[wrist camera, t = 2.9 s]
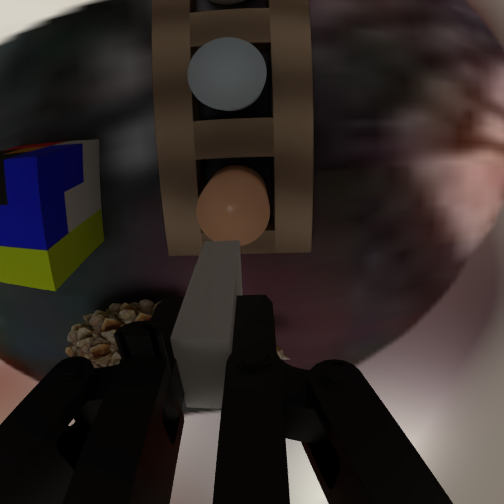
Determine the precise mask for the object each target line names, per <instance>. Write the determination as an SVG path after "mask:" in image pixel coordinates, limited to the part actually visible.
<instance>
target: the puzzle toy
mask: <svg viewBox="0 0 504 504" xmlns="http://www.w3.org/2000/svg"><path fill="white" fill-rule="evenodd" d="M103 241H104V232H103V221H102V208H101V191H100V166H99V139H93V140H77V141H63V142H51V143H41V144H31V145H23V146H18V147H14V148H10V149H7V150H3V151H0V282H4V283H9V284H15V285H21V286H26V287H32V288H39V289H45V290H51V291H56V290H57V289H58V288H59V287H60V286H61V285H62V284H63V283H64V281H65V280H66V279H67V278H68V277H69V276H70V275H71V274H72V273H73V272H74V271H75V270H76V269H77V268H78V267H79V266H80V265H81V264H82V262H83V261H84V260H85V259H86V258H87V257H88V256H89V255H90V254H91V253H92V252H93V251H94V250H95V249H96V248H97V247H98V246H99V245H100V244H101V243H102V242H103Z"/></svg>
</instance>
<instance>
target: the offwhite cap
mask: <svg viewBox="0 0 504 504" xmlns="http://www.w3.org/2000/svg"><path fill="white" fill-rule="evenodd" d="M210 1H212V2H214V3H217V4H223V5H231V4H237V3H240V2H243V1H245V0H210Z"/></svg>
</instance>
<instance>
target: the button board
mask: <svg viewBox="0 0 504 504" xmlns="http://www.w3.org/2000/svg"><path fill="white" fill-rule="evenodd" d="M224 37H233V38H239V39H242V40H245V41H247V42H249V43H250V44H252V45H253V46H254V47H255V48H256V49H258V50H269V62H270V93H271V117H260V118H232V119H214V120H200V121H199V104H198V99H197V98H196V97H195V95H194V94H193V92H192V91H191V89H190V86H189V83H188V67H189V64H190V61H191V59H192V57H193V56H194V54H195V53H196V52H197V50H198V49H199V48H201V47H202V46H203V45H204V44H206V43H208V42H210V41H212V40H214V39H218V38H224ZM152 75H153V99H154V117H155V132H156V145H157V157H158V168H159V179H160V188H161V198H162V206H163V215H164V223H165V231H166V238H167V245H168V252H169V256H192V255H200V252H201V250H202V247H203V244H204V242H205V241H213V240H211V239H210V238H209V237H208V236H206V235H205V233H204V232H203V231H202V229H201V228H200V226H199V223H198V220H197V215H196V207H197V202H198V199H199V196H200V195H201V193H202V191H203V190H204V188H203V174H202V159H215V158H236V157H271V156H272V180H273V219H269V222H268V225H267V227H266V229H265V230H264V232H263V233H262V234H261V235H260V236H259V237H258V238H257V239H256V240H254V241H253V242H251V243H249V244H246V245H243V246H240V254H265V253H301V252H311V238H312V209H313V78H312V50H311V30H310V13H309V0H267V8H244V9H225V10H212V11H202V12H196V0H152Z"/></svg>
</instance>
